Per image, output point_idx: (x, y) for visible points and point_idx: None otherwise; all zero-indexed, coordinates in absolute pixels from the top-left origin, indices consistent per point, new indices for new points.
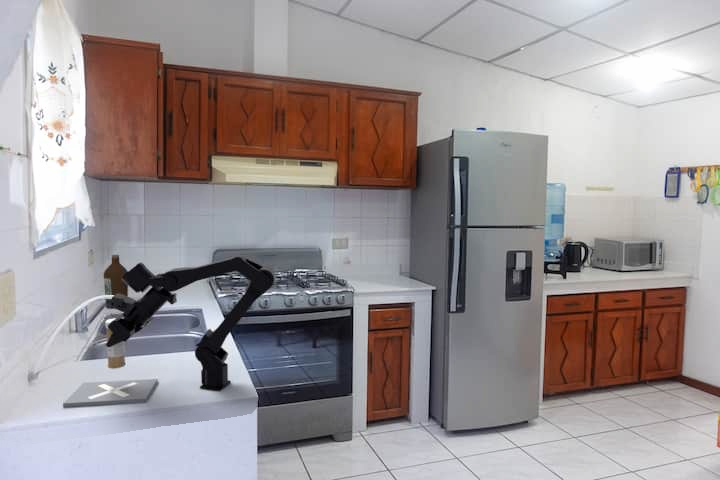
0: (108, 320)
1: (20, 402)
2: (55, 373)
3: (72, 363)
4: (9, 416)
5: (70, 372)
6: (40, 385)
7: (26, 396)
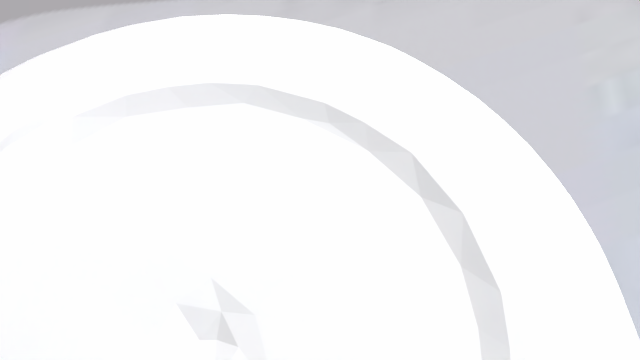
0: (162, 82)
1: (163, 12)
2: (500, 16)
3: (636, 36)
4: (11, 28)
5: (518, 67)
6: (353, 13)
7: (228, 9)
